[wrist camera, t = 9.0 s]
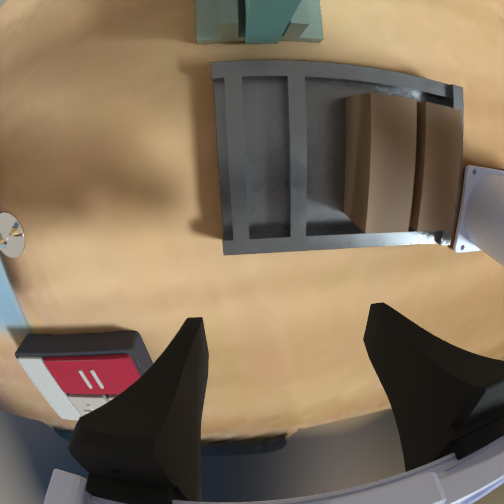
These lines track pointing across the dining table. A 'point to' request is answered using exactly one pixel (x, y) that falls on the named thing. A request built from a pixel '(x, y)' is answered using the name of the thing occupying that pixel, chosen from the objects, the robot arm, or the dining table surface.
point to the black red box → (83, 368)
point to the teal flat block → (267, 19)
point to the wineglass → (11, 236)
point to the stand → (232, 22)
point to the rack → (300, 152)
